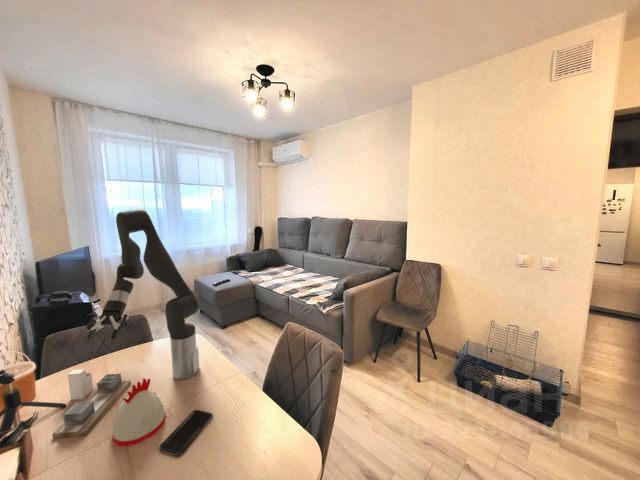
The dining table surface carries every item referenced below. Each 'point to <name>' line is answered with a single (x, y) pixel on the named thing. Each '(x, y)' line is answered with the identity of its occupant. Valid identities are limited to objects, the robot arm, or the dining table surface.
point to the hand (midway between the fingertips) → (101, 340)
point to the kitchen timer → (138, 416)
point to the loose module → (80, 383)
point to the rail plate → (96, 416)
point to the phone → (185, 433)
